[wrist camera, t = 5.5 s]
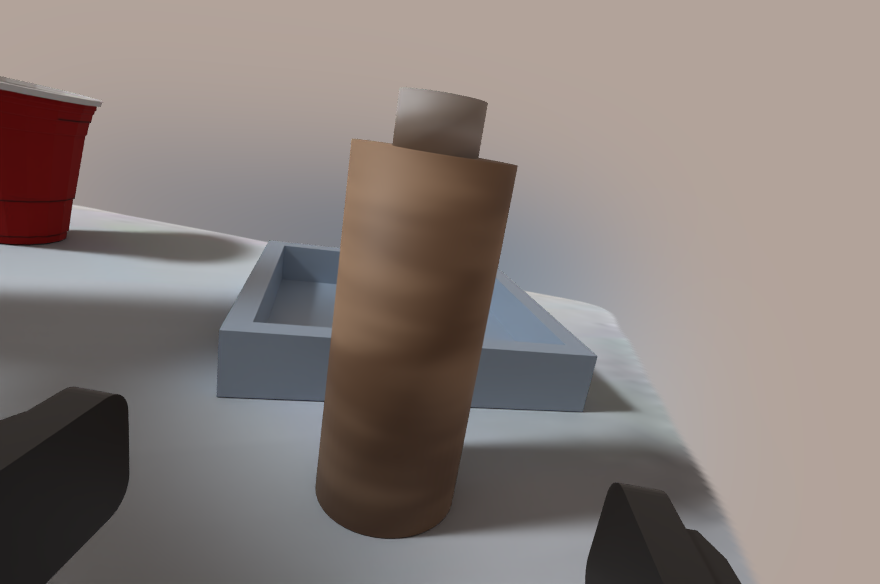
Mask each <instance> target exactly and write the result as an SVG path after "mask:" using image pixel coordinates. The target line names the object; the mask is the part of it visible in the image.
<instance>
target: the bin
mask: <svg viewBox="0 0 880 584" xmlns="http://www.w3.org/2000/svg"><path fill="white" fill-rule="evenodd" d="M339 256H340V248H335V247H326V246H317V245H307V244H299V243H290V242H279V241H271V240H269V242H268V244H267V245H266V247H265V249H264V251H263V252H262V254H261V256H260V258H259V260H258V261H257V263H256V265H255V267H254V269H253V270H252V272H251V274H250V276H249V277H248V279H247V281H246V283H245V285H244V286H243V288H242V290H241V292H240V294H239V295H238V297H237V299H236V301H235V302H234V304H233V306H232V308H231V310H230V311H229V313H228V315H227V317H226V319H225V320H224V322H223V324H222V326H221V327H220V329H219V345H218V373H217V397H238V398H262V399H286V400H311V401H324V400H325V391H326V381H327V371H328V362H329V352H330V343H331V333H332V323H333V314H334V304H335V295H336V285H337V275H338V266H339ZM596 360H597V355H596V354H594V353H593V352H592V351H591V350H590V349H589V348H588V347H587V346H585V345H584V344H583V343H582V342H581V341H580V340H579V339H578V338H576V337H575V336H574V335H573V334H572V333H571V332H570V331H568V330H567V329H566V328H565V327H564V326H563V325H562V324H561V323H559V322H558V321H557V320H556V319H555V318H554V317H553V316H552V315H550V314H549V313H548V312H547V311H546V310H545V309H544V308H543V307H541V306H540V305H539V304H538V303H537V302H536V301H535V300H533V299H532V298H531V297H530V296H529V295H528V294H527V293H526V292H524V291H523V290H522V289H521V288H520V287H519V286H518V285H517V284H515V283H514V282H513V281H512V280H511V279H510V278H509V277H507V276H506V275H505V274H504V273H503V272H502V271H501V270H499V268H498V269H497V274H496V279H495V284H494V290H493V295H492V300H491V305H490V310H489V315H488V320H487V325H486V331H485V336H484V341H483V346H482V351H481V356H480V361H479V366H478V372H477V377H476V382H475V387H474V392H473V397H472V402H471V407H481V408H505V409H529V410H554V411H578V412H583V409H584V405H585V401H586V398H587V394H588V390H589V386H590V382H591V379H592V375H593V371H594V367H595V364H596Z"/></svg>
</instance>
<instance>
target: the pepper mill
mask: <svg viewBox="0 0 880 584" xmlns="http://www.w3.org/2000/svg"><path fill="white" fill-rule="evenodd" d="M487 105H488V103H487V102H485V101H482V100H479V99H475V98H471V97H466V96H461V95H456V94H451V93H446V92H440V91H433V90H426V89H417V88H400V89H399V98H398V105H397V113H396V121H395V129H394V138H393V144H390V143H383V142H376V141H369V140H361V139H352V141H351V151H350V161H349V170H348V180H347V190H346V200H345V208H344V218H343V227H342V237H341V247H340V256H339V266H338V275H337V285H336V295H335V304H334V314H333V323H332V333H331V343H330V352H329V362H328V371H327V381H326V391H325V400H324V410H323V419H322V429H321V439H320V448H319V458H318V467H317V477H316V496H317V499H318V502H319V504H320V506H321V507H322V509H323V510H324V511H325V513H326V514H327V515H328V516H329V517H330V518H332V519H333V520H334V521H335V522H336V523H338V524H340V525H341V526H343V527H345V528H347V529H349V530H351V531H353V532H356V533H359V534H362V535H366V536H371V537H377V538H404V537H410V536H414V535H417V534H421V533H423V532H425V531H428V530H430V529H431V528H433V527H435V526H436V525H437V524H439V523H440V522H441V521H442V520H443V519H444V518H445V517H446V515H447V513H448V512H449V510H450V507H451V505H452V499H453V494H454V489H455V484H456V479H457V474H458V469H459V464H460V459H461V453H462V448H463V443H464V438H465V433H466V428H467V423H468V418H469V412H470V407H471V402H472V397H473V392H474V387H475V382H476V377H477V372H478V366H479V361H480V356H481V351H482V346H483V341H484V336H485V331H486V325H487V320H488V315H489V310H490V305H491V300H492V295H493V290H494V284H495V279H496V274H497V269H498V264H499V259H500V254H501V248H502V244H503V238H504V233H505V228H506V223H507V218H508V213H509V208H510V202H511V197H512V192H513V187H514V181H515V177H516V172H517V166H516V165H513V164H508V163H503V162H498V161H492V160H487V159H482V158H478V156H479V151H480V145H481V139H482V133H483V128H484V122H485V116H486V110H487Z"/></svg>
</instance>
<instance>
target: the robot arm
mask: <svg viewBox="0 0 880 584" xmlns="http://www.w3.org/2000/svg"><path fill="white" fill-rule="evenodd" d="M128 482H129V423H128V405H127V402H126V400H125V398H124V397H123V396H121V395H118V394H112V393H107V392H101V391H95V390H90V389H84V388H79V387H69V388H66V389H64V390H62V391H60V392H59V393H57V394H55V395H54V396H52V397H50V398H49V399H47V400H45V401H44V402H42V403H40V404H38V405H37V406H35V407H33V408H32V409H30V410H28V411H26V412H23V413H20V414H17V415H14V416H11V417H9V418H6V419H3V420H0V584H46V583H47V582H48V581H49V580H50V579H51V578H52V577H53V576H54V575H55V574H56V573H57V572H58V571H59V570H60V568H61V567H62V566H63V565H64V564H65V563H66V562H67V561H68V560H69V559H70V558H71V557H72V556H73V555H74V554H75V553H76V552H77V551H78V550H79V549H80V548H81V547H82V546H83V545H84V544H85V543H86V542H87V541H88V540H89V539H90V538H91V537H92V536H93V535H94V534H95V533H96V532H97V531H98V530H99V529H100V528H101V527H102V526H103V525H104V524H105V523H106V522H107V521H108V520H109V519H110V517H111V516H112V515H113V514H114V513H115V511H116V510H117V509H118V507H119V505H120V504H121V502H122V500H123V498H124V495H125V493H126V490H127V486H128ZM585 584H741V582H740V581H739V579H738V577H737V576H736V574H735V572H734V571H733V569H732V567H731V566H730V564H729V563H728V561H727V559H726V558H725V557H724V556H723V555H722V554H721V553H720V552H718V551H717V550H716V549H715V548H714V547H713V546H712V545H711V544H710V543H709V542H708V541H707V540H706V539H705V538H704V537H703V536H702V535H701V534H700V533H699V532H698V531H696V530H690V529H686V528H685V526H684V524H683V523H682V521H681V519H680V517H679V515H678V513H677V512H676V510H675V508H674V506H673V504H672V503H671V501H670V499H669V497H668V496H667V494H666V493H665V492H663V491H661V490H656V489H650V488H645V487H639V486H633V485H628V484H622V483H616V482H615V483H613V484H612V485H611V487H610V488H609V490H608V493H607V496H606V499H605V502H604V506H603V509H602V512H601V516H600V519H599V522H598V526H597V529H596V532H595V536H594V539H593V542H592V546H591V549H590V552H589V556H588V560H587V565H586V575H585Z"/></svg>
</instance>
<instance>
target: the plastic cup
mask: <svg viewBox="0 0 880 584" xmlns="http://www.w3.org/2000/svg"><path fill="white" fill-rule="evenodd" d="M101 104H102V101H101V100H98V99H94V98H91V97H87V96H83V95H79V94H75V93H71V92H67V91H63V90H59V89H55V88H50V87H46V86H41V85H37V84H33V83H28V82H24V81H19V80H15V79H10V78H6V77H0V243H4V244H43V243H51V242H57V241H61V240H63V239H65V238H66V235H67V231H69V225H70V217H71V210H72V203H73V199H75V193H76V187H77V181H78V176H79V169H80V163H81V158H82V152H83V146H84V140H85V136H86V135H87V131H88V127H89V123H91V120H92V116H93V115H94V112H95V111H96V108H97V107H101Z"/></svg>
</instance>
